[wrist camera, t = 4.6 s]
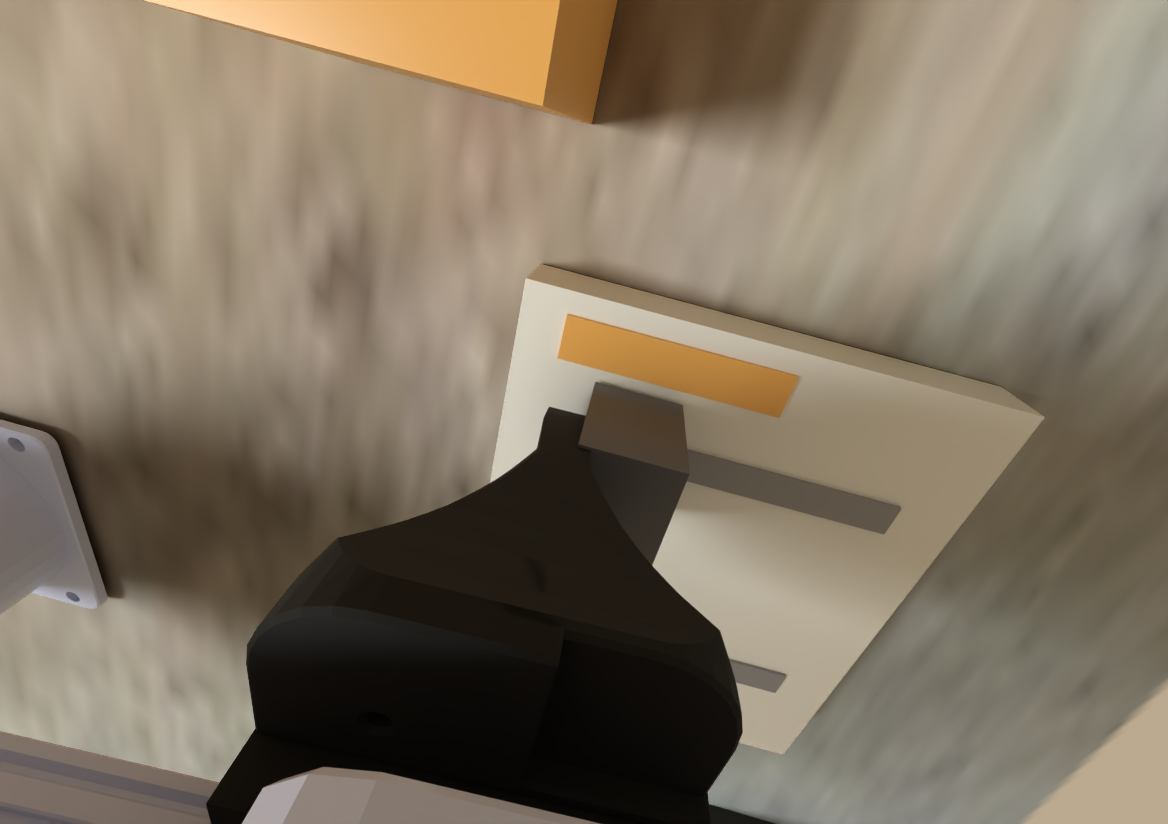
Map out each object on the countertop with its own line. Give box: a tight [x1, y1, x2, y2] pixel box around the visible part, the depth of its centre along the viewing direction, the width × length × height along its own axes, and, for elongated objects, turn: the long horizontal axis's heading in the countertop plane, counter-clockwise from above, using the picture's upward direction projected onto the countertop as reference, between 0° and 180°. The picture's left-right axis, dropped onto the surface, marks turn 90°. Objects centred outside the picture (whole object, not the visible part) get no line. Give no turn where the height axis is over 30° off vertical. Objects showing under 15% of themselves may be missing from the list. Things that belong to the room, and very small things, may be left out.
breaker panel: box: [490, 264, 1045, 755], centre depth 14 cm, size 11×13×2 cm
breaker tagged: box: [578, 382, 690, 565], centre depth 11 cm, size 2×3×3 cm, turn 167°
